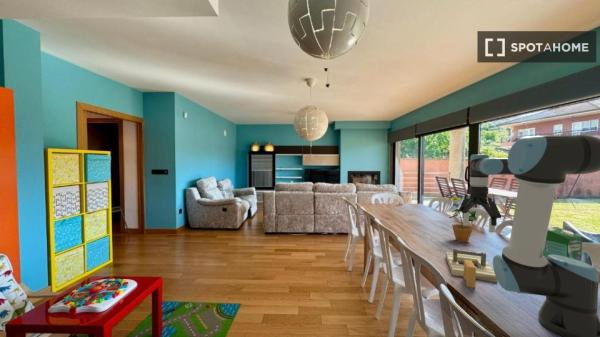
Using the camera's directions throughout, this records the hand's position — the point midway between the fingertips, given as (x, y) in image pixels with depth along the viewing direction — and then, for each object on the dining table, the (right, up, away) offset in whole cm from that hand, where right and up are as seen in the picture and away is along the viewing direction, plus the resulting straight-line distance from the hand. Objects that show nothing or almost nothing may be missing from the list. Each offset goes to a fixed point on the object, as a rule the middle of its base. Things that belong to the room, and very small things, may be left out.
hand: (478, 228), depth 124 cm
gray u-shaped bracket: (0, -22, +7) cm, 23 cm away
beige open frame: (0, -22, +7) cm, 23 cm away
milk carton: (+31, -23, -10) cm, 40 cm away
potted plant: (+26, -21, +53) cm, 63 cm away
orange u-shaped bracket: (-10, -23, -9) cm, 26 cm away
